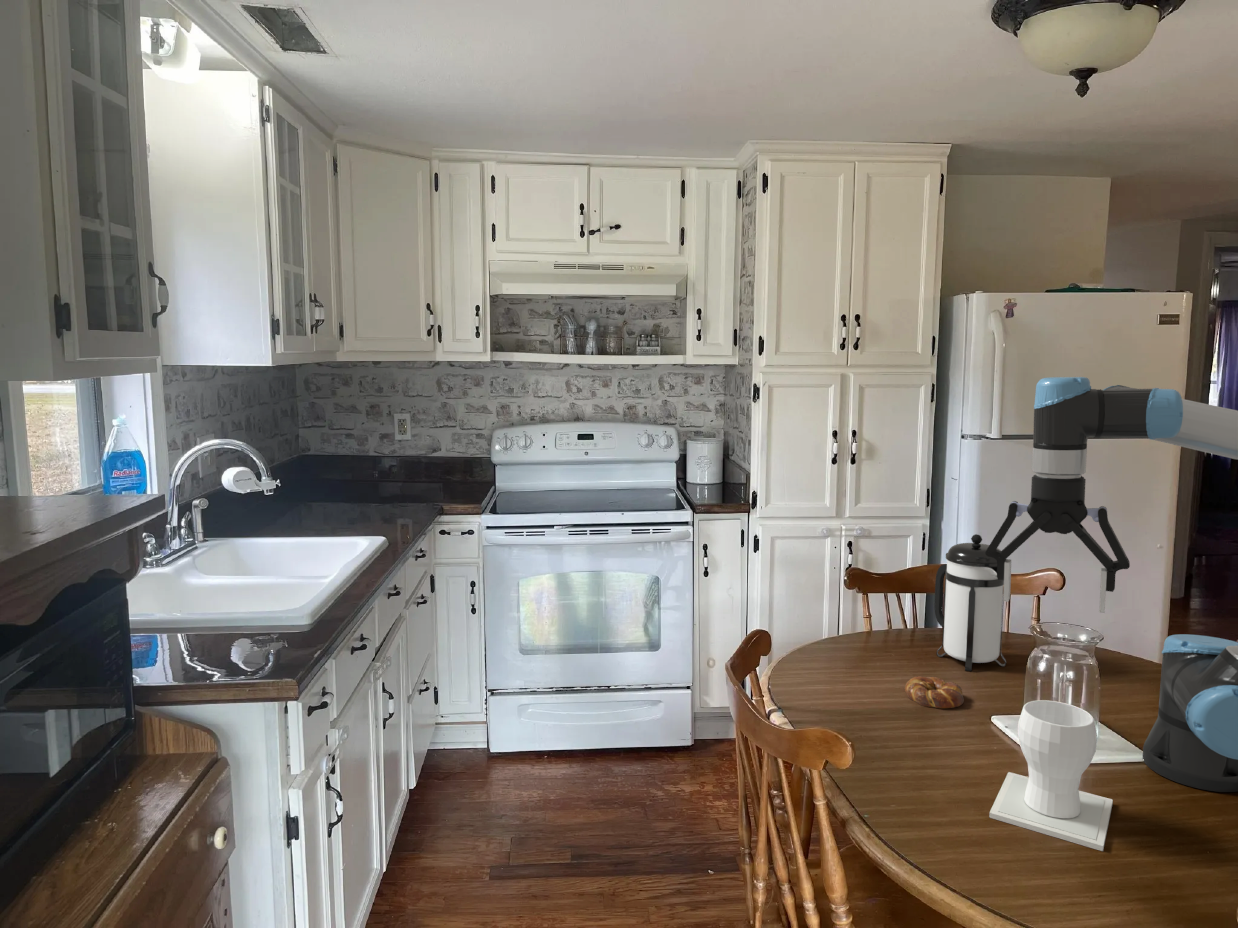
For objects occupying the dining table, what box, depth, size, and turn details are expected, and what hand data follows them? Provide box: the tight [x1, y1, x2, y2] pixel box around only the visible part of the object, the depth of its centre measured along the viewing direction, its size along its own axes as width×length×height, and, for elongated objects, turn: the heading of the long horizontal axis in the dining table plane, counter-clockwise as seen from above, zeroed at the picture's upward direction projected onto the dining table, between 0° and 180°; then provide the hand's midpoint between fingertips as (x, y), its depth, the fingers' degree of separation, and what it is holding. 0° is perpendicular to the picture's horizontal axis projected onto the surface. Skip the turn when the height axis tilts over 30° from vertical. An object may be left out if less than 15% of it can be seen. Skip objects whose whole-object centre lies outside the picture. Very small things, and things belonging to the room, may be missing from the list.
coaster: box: [988, 771, 1113, 852], centre depth 125 cm, size 15×15×1 cm
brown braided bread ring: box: [904, 675, 964, 709], centre depth 167 cm, size 12×11×4 cm
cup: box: [1017, 699, 1098, 818], centre depth 124 cm, size 11×11×15 cm
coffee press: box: [933, 533, 1007, 672], centre depth 186 cm, size 17×16×30 cm
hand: (1053, 605), depth 130 cm, fingers open, 13 cm apart
